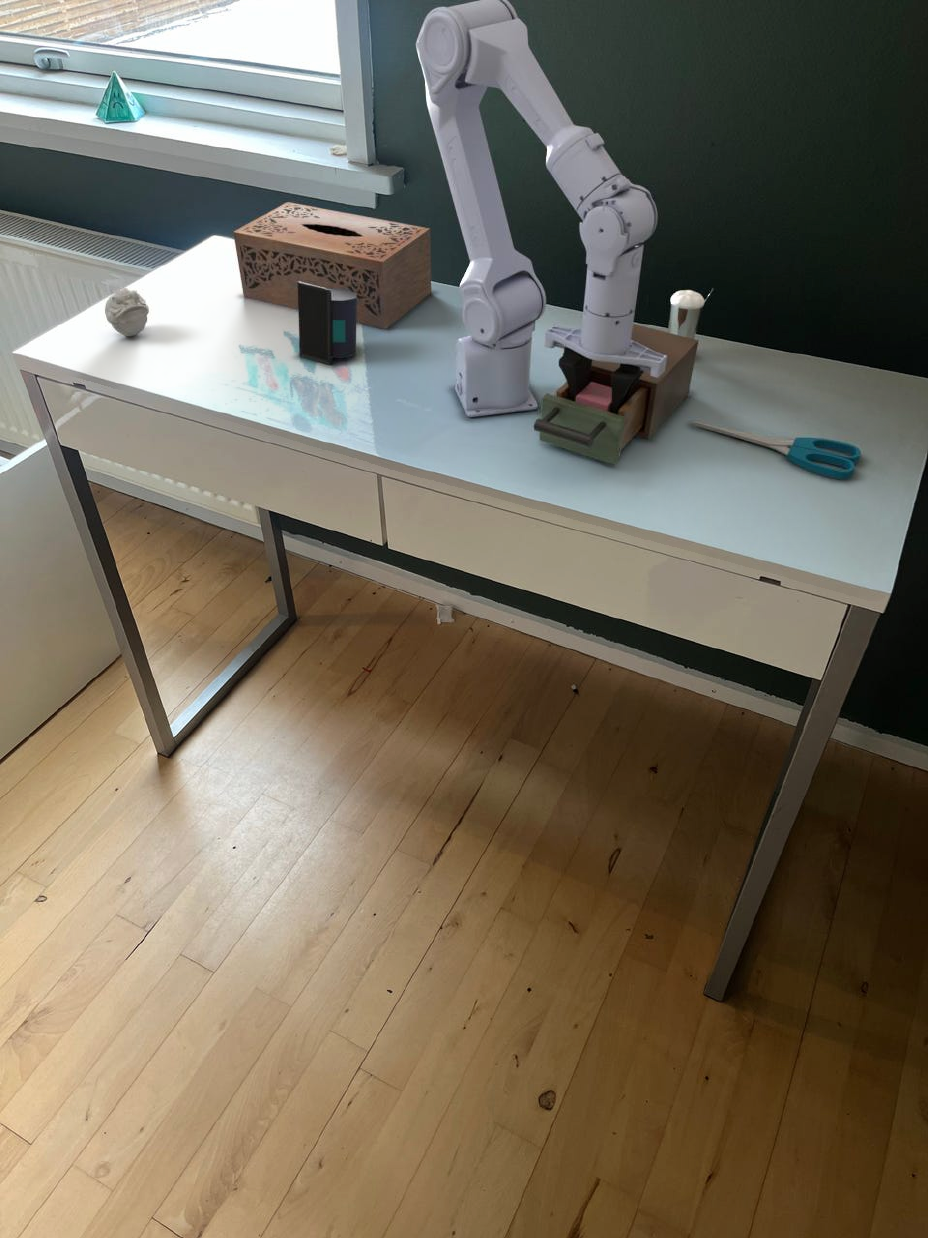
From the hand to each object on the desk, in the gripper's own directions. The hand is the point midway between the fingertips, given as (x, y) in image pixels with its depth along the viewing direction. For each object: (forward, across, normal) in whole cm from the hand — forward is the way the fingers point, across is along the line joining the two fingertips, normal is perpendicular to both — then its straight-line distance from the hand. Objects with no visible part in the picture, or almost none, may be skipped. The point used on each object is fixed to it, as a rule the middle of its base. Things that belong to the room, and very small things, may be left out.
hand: (597, 413), depth 112 cm
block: (+1, 0, 0) cm, 1 cm away
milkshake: (+4, -1, -27) cm, 27 cm away
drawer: (+3, 0, +1) cm, 3 cm away
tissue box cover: (+4, +53, -17) cm, 56 cm away
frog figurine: (+4, +70, +10) cm, 71 cm away
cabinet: (+4, 0, -10) cm, 11 cm away
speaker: (+4, +42, -1) cm, 42 cm away
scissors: (+4, -19, -10) cm, 22 cm away
